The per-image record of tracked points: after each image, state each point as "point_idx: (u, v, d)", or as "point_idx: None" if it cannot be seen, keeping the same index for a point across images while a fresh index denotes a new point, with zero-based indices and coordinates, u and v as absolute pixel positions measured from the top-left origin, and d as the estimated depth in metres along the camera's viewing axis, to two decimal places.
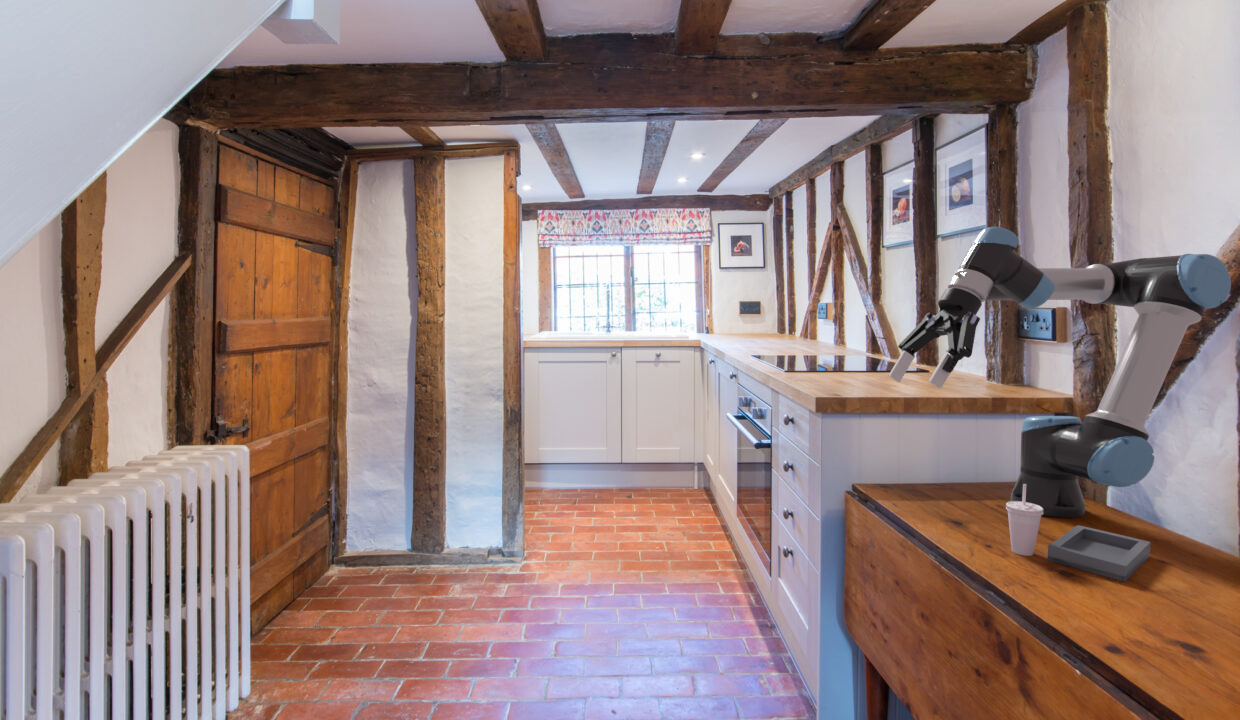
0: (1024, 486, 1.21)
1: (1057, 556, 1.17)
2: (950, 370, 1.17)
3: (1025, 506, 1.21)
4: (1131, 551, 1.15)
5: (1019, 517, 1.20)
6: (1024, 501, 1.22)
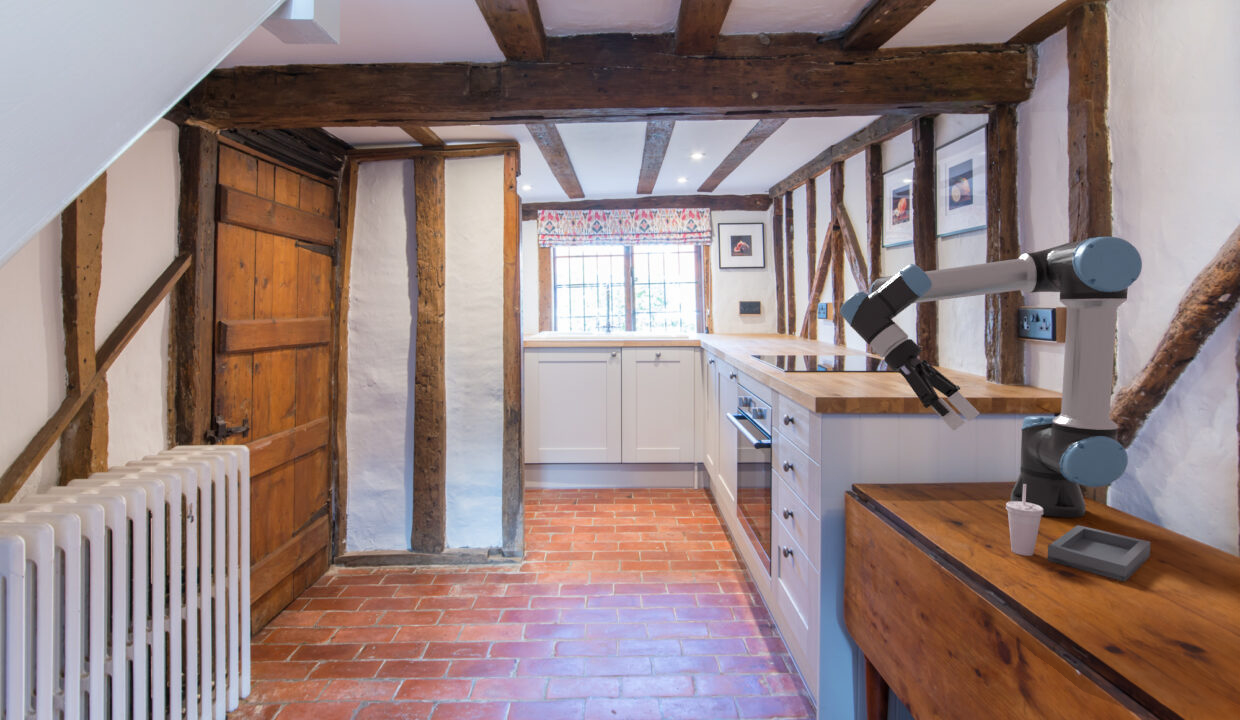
0: (1024, 486, 1.21)
1: (1057, 556, 1.17)
2: (945, 412, 1.22)
3: (1025, 506, 1.21)
4: (1131, 551, 1.15)
5: (1019, 517, 1.20)
6: (1024, 501, 1.22)
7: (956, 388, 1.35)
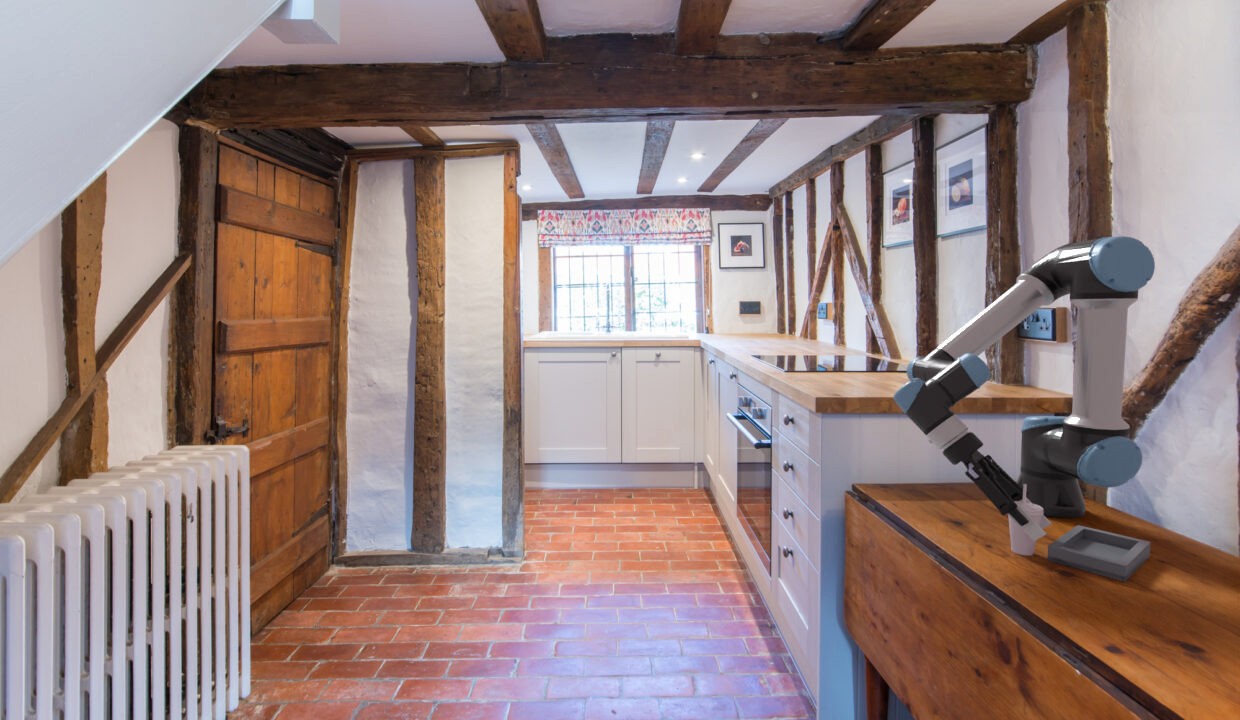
0: (1024, 486, 1.21)
1: (1057, 556, 1.17)
2: (1025, 522, 1.17)
3: (1025, 506, 1.21)
4: (1131, 551, 1.15)
5: None
6: (1024, 501, 1.22)
7: None
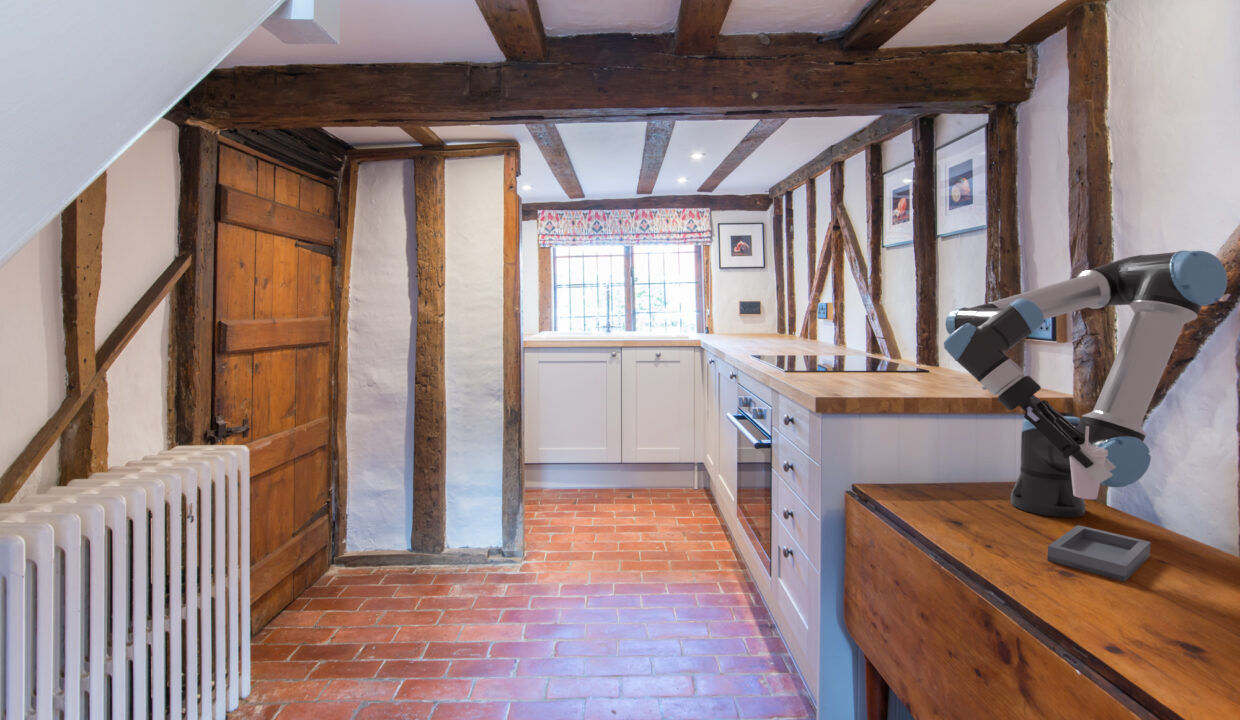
0: (1087, 428, 1.17)
1: (1057, 556, 1.17)
2: (1090, 464, 1.13)
3: (1088, 448, 1.16)
4: (1131, 551, 1.15)
5: None
6: (1087, 443, 1.17)
7: (1084, 437, 1.21)
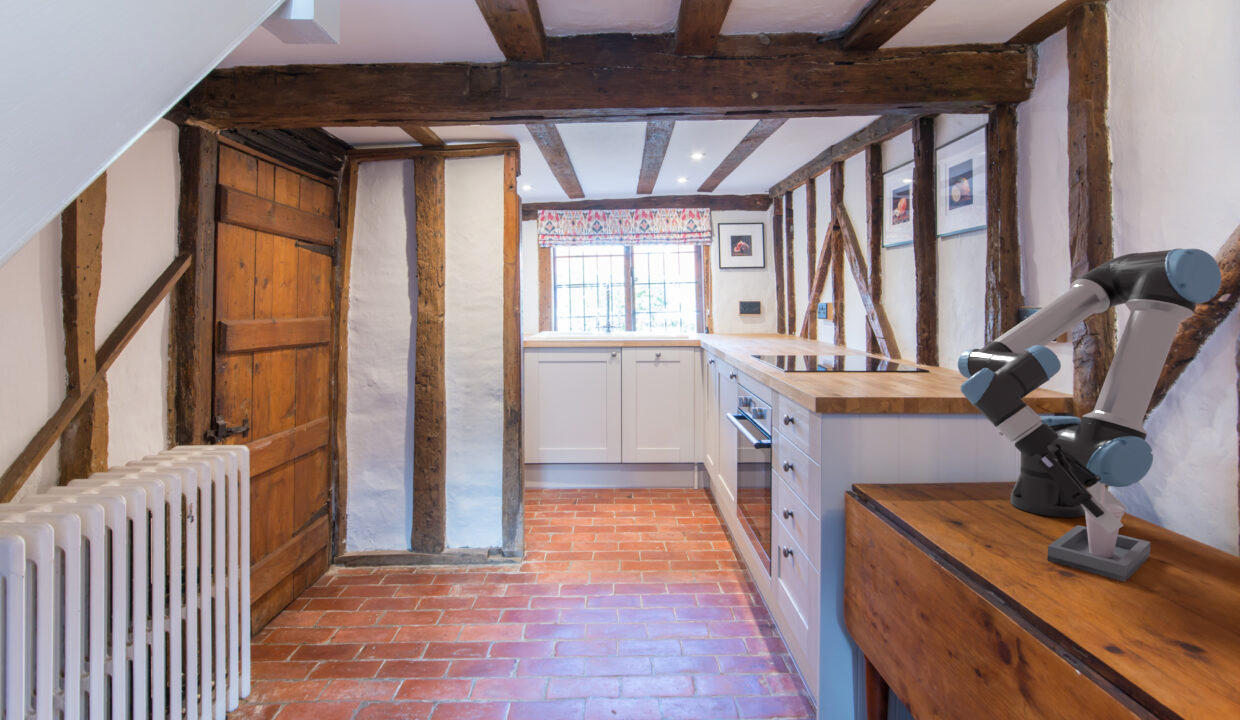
0: (1102, 486, 1.18)
1: (1057, 556, 1.17)
2: (1100, 513, 1.12)
3: (1104, 506, 1.17)
4: (1131, 551, 1.15)
5: None
6: (1103, 501, 1.18)
7: (1096, 478, 1.24)
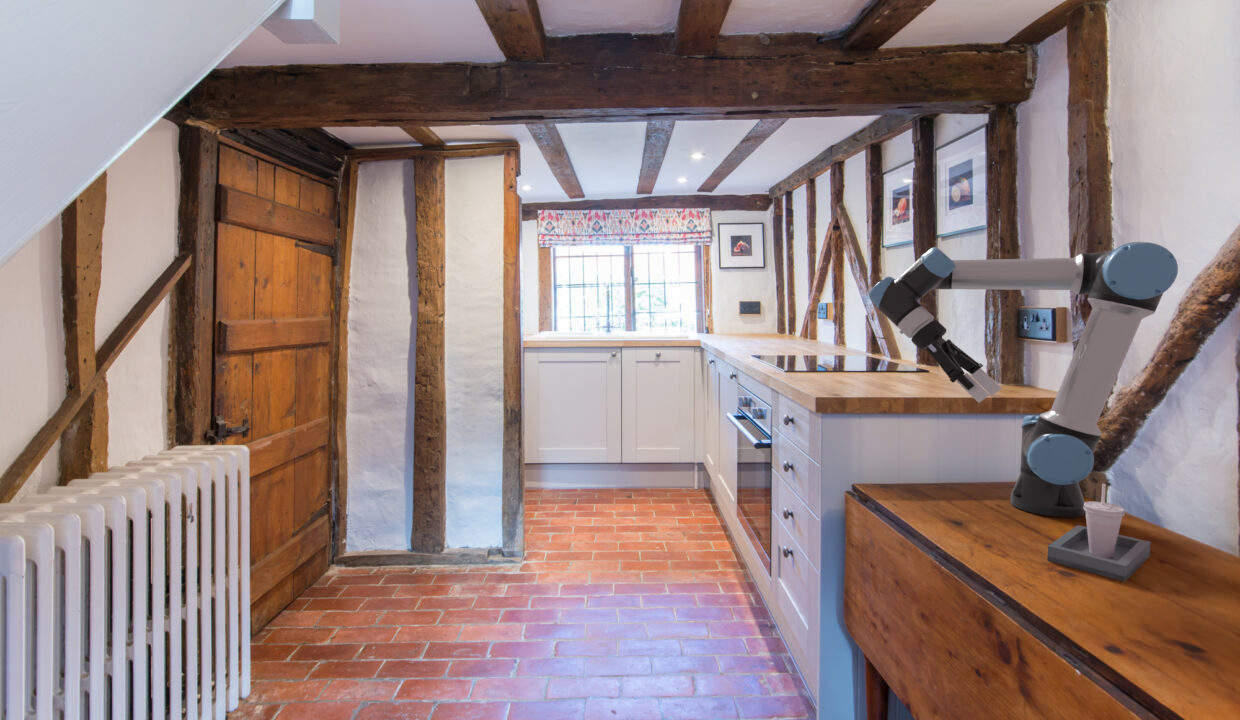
0: (1103, 486, 1.18)
1: (1057, 556, 1.17)
2: (971, 386, 1.33)
3: (1105, 506, 1.17)
4: (1131, 551, 1.15)
5: (1099, 518, 1.16)
6: (1103, 501, 1.18)
7: (979, 365, 1.45)
